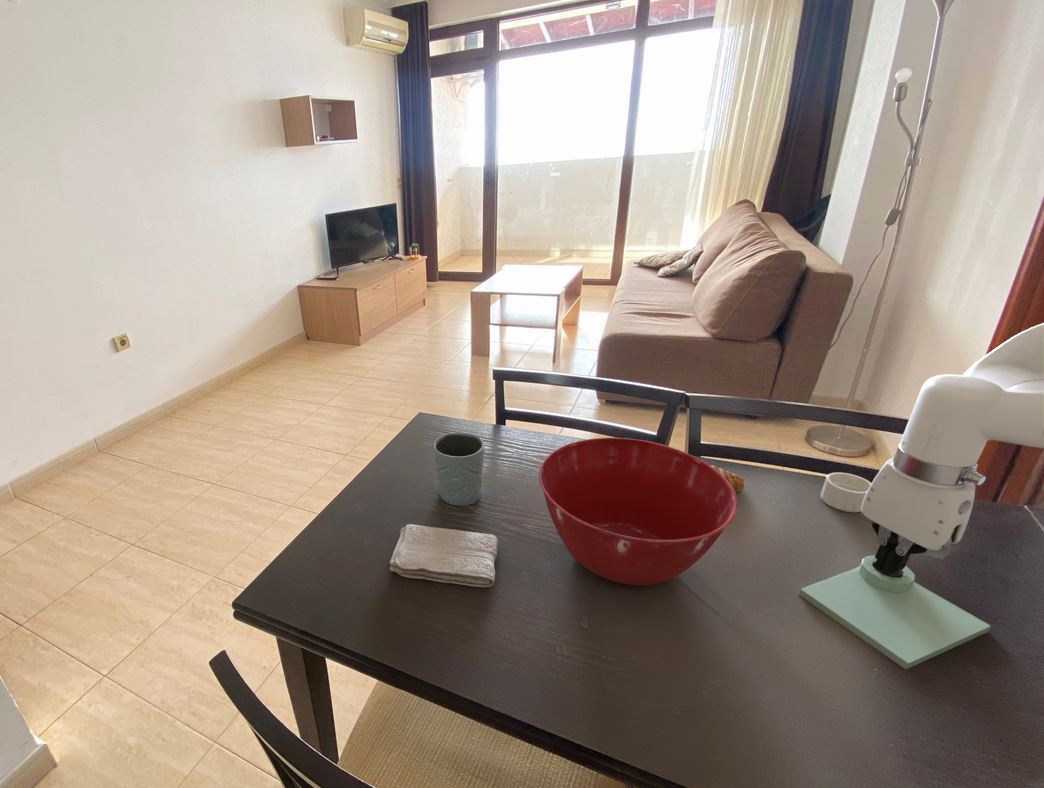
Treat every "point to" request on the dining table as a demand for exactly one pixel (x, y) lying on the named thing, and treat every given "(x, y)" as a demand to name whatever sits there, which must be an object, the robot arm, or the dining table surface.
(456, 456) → the grey green cup
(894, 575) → the button
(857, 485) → the bowl
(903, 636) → the scale
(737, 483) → the pastry
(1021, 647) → the dining table surface
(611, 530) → the mixing bowl
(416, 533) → the washcloth
